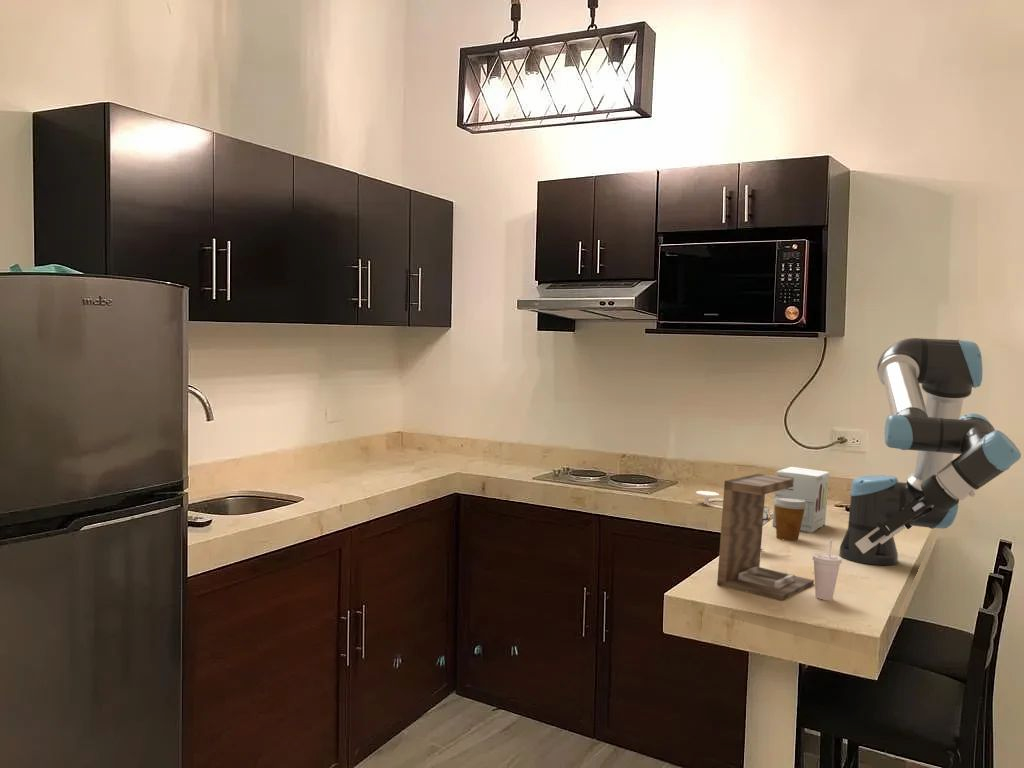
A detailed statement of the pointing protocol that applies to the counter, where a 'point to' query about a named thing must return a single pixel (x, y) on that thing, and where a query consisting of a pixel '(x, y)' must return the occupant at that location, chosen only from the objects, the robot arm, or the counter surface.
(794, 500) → the disposable coffee cup
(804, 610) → the counter surface
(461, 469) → the counter surface
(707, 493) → the hand towel holder
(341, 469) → the counter surface
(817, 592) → the smoothie
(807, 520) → the supplement box
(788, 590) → the overhang shelf
